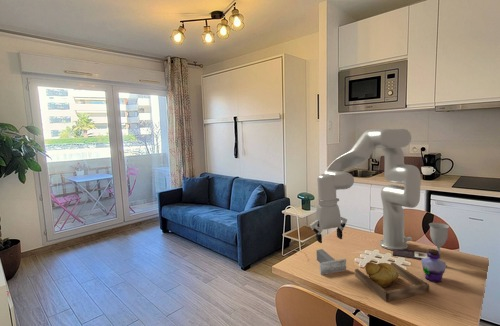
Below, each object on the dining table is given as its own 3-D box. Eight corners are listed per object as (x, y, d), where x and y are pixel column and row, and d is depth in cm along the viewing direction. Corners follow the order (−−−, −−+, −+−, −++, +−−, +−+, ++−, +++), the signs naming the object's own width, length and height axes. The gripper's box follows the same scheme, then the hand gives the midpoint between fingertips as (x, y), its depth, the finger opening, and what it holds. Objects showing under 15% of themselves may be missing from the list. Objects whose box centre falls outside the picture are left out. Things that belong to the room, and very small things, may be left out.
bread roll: (387, 272, 116) (387, 254, 115) (407, 284, 106) (407, 264, 106) (362, 279, 111) (362, 261, 111) (381, 292, 102) (381, 272, 101)
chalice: (449, 264, 119) (450, 224, 117) (447, 271, 114) (448, 229, 112) (429, 260, 124) (430, 221, 122) (426, 265, 119) (427, 225, 117)
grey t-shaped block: (331, 257, 132) (330, 247, 131) (346, 270, 119) (346, 259, 119) (308, 261, 129) (307, 251, 129) (321, 275, 117) (320, 263, 116)
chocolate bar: (393, 247, 138) (436, 253, 129) (393, 249, 138) (436, 255, 129) (392, 254, 130) (438, 261, 121) (392, 256, 130) (438, 263, 121)
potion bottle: (416, 278, 110) (416, 250, 108) (425, 271, 115) (425, 243, 114) (441, 287, 103) (442, 257, 102) (449, 279, 108) (450, 250, 107)
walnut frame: (393, 268, 118) (393, 262, 118) (429, 292, 101) (429, 284, 100) (355, 276, 114) (355, 269, 114) (385, 301, 97) (385, 293, 96)
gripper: (340, 197, 124) (342, 233, 126) (305, 203, 120) (307, 240, 123) (350, 201, 117) (352, 239, 119) (313, 207, 113) (315, 247, 115)
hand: (329, 240), depth 121 cm, fingers open, 9 cm apart
